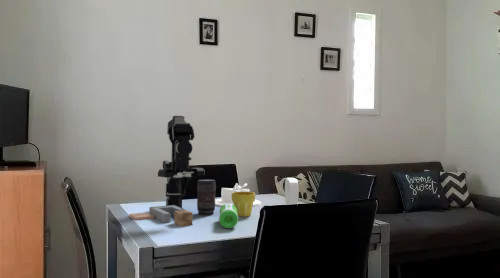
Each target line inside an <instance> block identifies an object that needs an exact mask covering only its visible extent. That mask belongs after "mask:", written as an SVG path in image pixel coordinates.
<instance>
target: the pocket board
mask: <svg viewBox="0 0 500 278" xmlns="http://www.w3.org/2000/svg"><path fill="white" fill-rule="evenodd" d="M182 208H183V207H182ZM182 208H180V207H177V206H175V205H170V206H166V205H158V206H150V207H149V211H148V213H150V214H152V215H154V218H153V219H156V220H158V221H160V222H162V223H164V224H165V223H171V216H173V217H175V211H181V210H186V209H185V208H183V209H182Z"/></svg>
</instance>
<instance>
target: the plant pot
mask: <svg viewBox="0 0 500 278" xmlns="http://www.w3.org/2000/svg"><path fill="white" fill-rule="evenodd" d="M255 200H256V192H253V191H250V192H233V193H232V201H233V204H234V206H235V207H236V208H237V215H238V217H249V216H252V211H253V208H254V207H253V202H254V201H255Z"/></svg>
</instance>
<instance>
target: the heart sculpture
mask: <svg viewBox="0 0 500 278" xmlns="http://www.w3.org/2000/svg"><path fill="white" fill-rule="evenodd" d="M299 184H300V183H299V181H298V179H297V178H295V177H285V181H284V199H285V206H286V205H289V204H297V205H298V203H299V197H300V196H299V194H300V193H299V192H300V191H299V189H300V186H299Z"/></svg>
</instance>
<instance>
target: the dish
mask: <svg viewBox="0 0 500 278" xmlns="http://www.w3.org/2000/svg"><path fill="white" fill-rule="evenodd" d="M246 186H248V183H247V182H246V183H244V184H243V185H239V183H237V182H236V183H235V185H234V187H233V188H230V187H229V188H228V187H221V193H220V194H221V197H220V198H215V207H219V206H220V208H221V207H222V206H223V205H224V204H227V203H230V204H233V201H232V193H233V192H251V191H250V190H251V189H250V188H244V187H246ZM233 205H234V204H233ZM260 205H262V202H261V201H260V200H258V199H255V201H254V202H253V207H252V208H254V207H259V206H260Z"/></svg>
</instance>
